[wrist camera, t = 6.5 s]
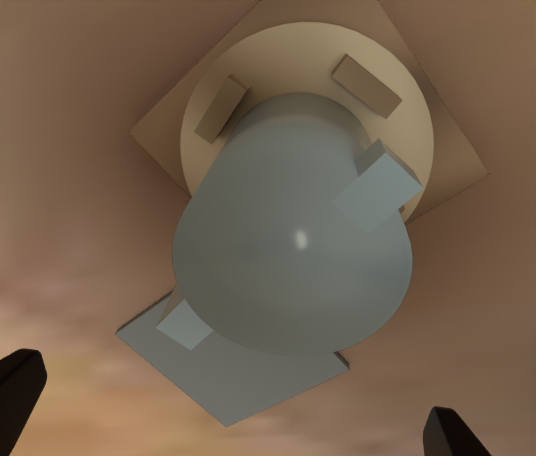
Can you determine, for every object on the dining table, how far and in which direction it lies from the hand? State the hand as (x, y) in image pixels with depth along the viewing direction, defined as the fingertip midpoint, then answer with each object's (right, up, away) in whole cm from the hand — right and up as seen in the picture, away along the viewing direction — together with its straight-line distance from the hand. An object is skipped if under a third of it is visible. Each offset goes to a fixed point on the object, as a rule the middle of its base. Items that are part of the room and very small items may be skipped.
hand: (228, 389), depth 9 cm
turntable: (+2, +7, +8) cm, 11 cm away
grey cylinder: (+1, +5, +8) cm, 9 cm away
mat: (-1, -3, +15) cm, 16 cm away
